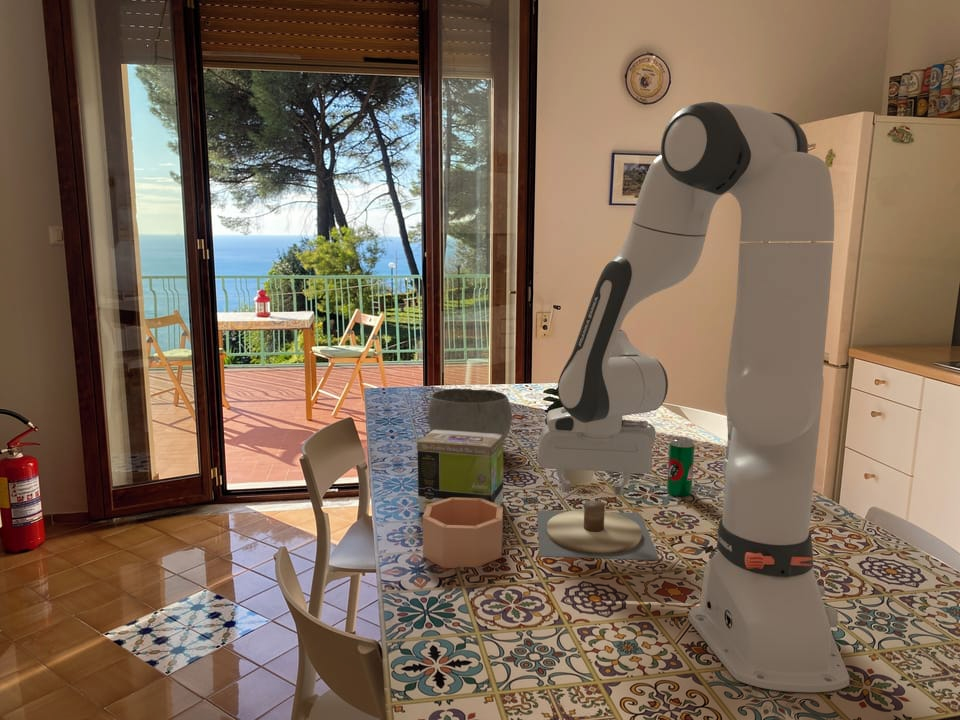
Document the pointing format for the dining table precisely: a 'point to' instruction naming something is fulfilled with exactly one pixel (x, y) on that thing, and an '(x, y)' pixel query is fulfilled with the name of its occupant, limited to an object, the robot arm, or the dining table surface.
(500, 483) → the tea box
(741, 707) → the dining table surface
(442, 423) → the bowl
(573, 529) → the lid
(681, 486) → the soda can
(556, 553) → the mat
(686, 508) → the dining table surface
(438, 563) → the pot
